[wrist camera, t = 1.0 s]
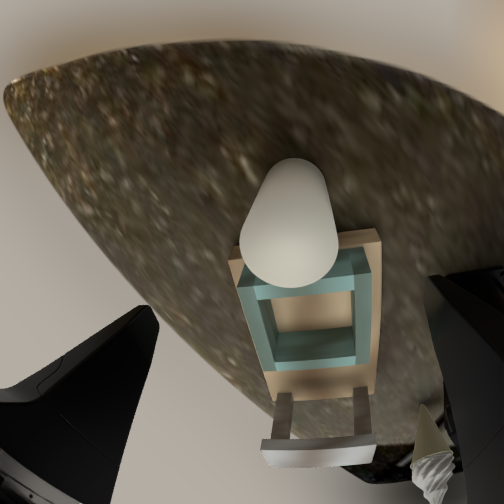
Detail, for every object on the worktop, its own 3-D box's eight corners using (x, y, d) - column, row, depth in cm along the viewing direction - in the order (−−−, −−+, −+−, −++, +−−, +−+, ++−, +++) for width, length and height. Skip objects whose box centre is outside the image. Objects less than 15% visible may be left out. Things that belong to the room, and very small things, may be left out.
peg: (320, 153, 18) (332, 192, 11) (329, 212, 19) (342, 282, 12) (257, 163, 18) (228, 208, 12) (270, 220, 20) (251, 291, 13)
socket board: (374, 227, 19) (414, 322, 11) (371, 378, 27) (379, 461, 18) (233, 246, 22) (191, 341, 14) (275, 385, 29) (262, 466, 21)
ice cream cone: (414, 418, 30) (425, 520, 17) (395, 408, 29) (404, 522, 16) (446, 400, 27) (466, 505, 15) (430, 387, 27) (451, 506, 14)
